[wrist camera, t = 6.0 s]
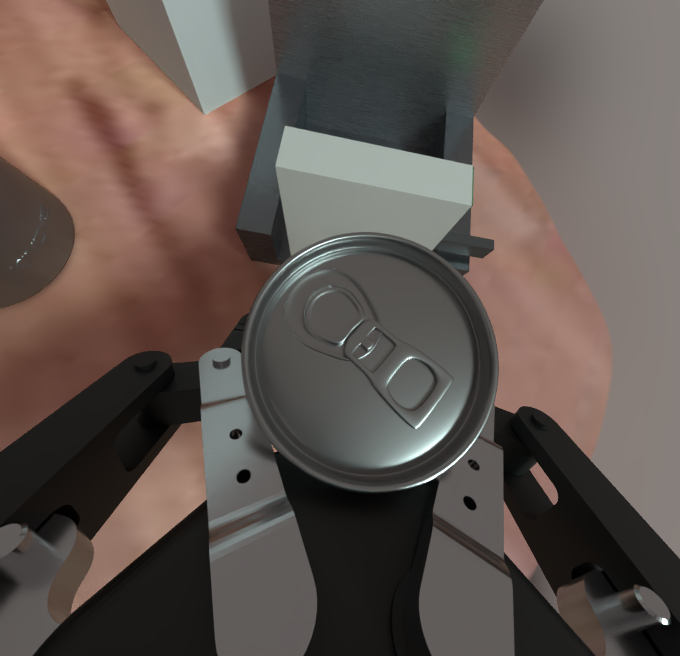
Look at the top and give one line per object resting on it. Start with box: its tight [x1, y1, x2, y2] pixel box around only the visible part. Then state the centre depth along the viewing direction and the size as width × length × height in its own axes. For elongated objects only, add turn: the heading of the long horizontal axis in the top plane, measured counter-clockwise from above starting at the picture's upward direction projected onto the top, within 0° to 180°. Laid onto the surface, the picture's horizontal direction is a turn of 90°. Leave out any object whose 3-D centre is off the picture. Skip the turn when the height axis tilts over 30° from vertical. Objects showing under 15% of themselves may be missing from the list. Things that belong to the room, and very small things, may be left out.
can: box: [241, 232, 499, 494], centre depth 11 cm, size 6×6×12 cm
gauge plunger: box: [275, 126, 494, 258], centre depth 14 cm, size 12×2×8 cm, turn 82°
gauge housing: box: [235, 0, 544, 276], centre depth 16 cm, size 14×15×10 cm
